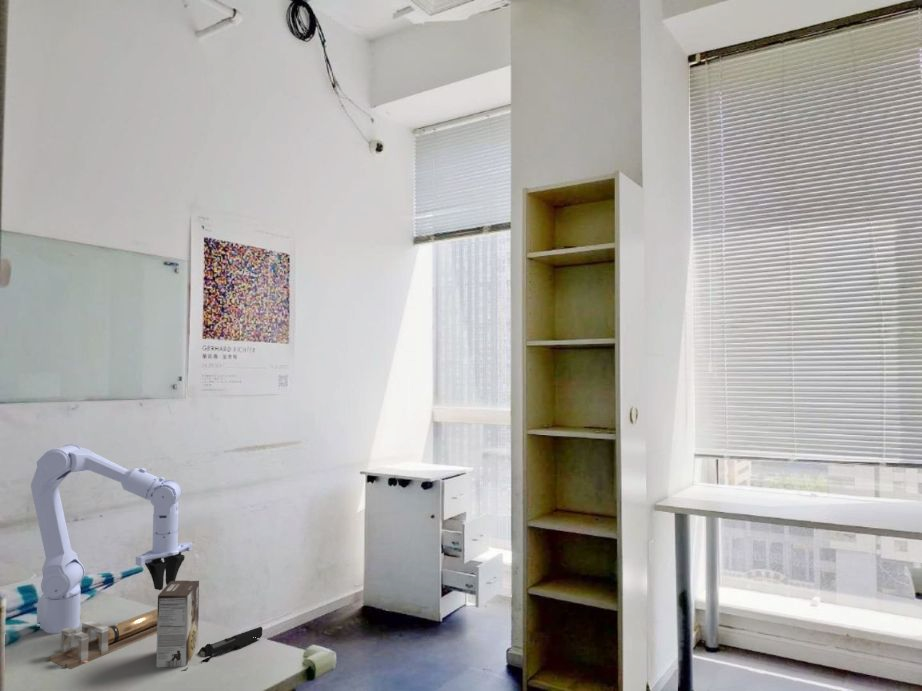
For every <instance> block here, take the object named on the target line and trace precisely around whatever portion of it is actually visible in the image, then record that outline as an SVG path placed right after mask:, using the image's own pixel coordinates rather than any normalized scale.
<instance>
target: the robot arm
mask: <svg viewBox="0 0 922 691" xmlns="http://www.w3.org/2000/svg"><path fill="white" fill-rule="evenodd" d="M84 471H85V472H86V471H90V472H92V473H95V474H97V475H101V476H103V477H106V478H108V479H111V480H114V481H117V482H118V483H120V484H121V486H122V489H123V490H124V491H126V492H128V493H131V494H133V495H135V496H137V497H140V498H142V499H145V500H147V501H150V503H151V504H152V506H153V515H152V548H151V550H148V551H146V552H144V553H142V554H139V555H136V556H135V565H136V566H139V567H141V566H145V567H146V568H147V570H148V572H149V574H150V576H151V580H152V583H153V588H154V589H155V590H158V591H162V590H163V589H164V580H165V585H166V586H167V585H168V584H169V582H170V581H176V579H177V576H178V572H179V570H180V568H181V566H182V564H183V563H184V561H185V559H186V558H185V555H184V554H182V553H184V552H191V551H193V542H192V541H191V542H190V541H185V542H180V543H179V515H180V514H179V501H178V500H179V499H180V497H181V495H182V487H181V486H180V484H179V483H178V482H176V481H175V480H173V479H166V478H165V477H163V476H160V477H159V476H156V475H154V474H152V473H149V472H147V471H148V469H146V468H144V467H141V468H137V467H135V468H132V469H128V468H125V467H124V466H121V465H119V464H118V463H115V462H113V461H111V460H109V459H108V458H106V457H104V456H102V455H99V454H98V453H95V452H93V451H92V450H90V449H88V448H86V447H81V446H79V445H78V444H73V443H70V444H65V445H63V446H61V447H58V448H52V449H49V450H47V451H46V452H44V453H43V455H42V456H41V457H40V458H39V459H38V460H37V461H36V469H35V472H34V474H33V478H32V480H31V482H30V489H31V494H32V500H33V503H34V508H35V513H36V517H37V522H38V526H39V532H40V536H41V542H42V546H43V551H44V554H45V560H44V563H43V566H42V569H41V572H42V580H41V583H40V589H41V591H42V593H43V594H42V595H41V596H39V599H38V601H37V604H36V625H37V624H40V628H39V629H41V630H43V631H44V632H45V633H47V634H61V632H62V630H63V629H66V628H71V629H74V630H76V629H77V628H79V626H80V625H81V586H80V582H82V581H83V580H84V579H85V578H84V577H85V575H86V570H85V567H84V565H83V564H82V562H81V561H80V560H79V557H78V553H77V552H75V550H73V549H72V546H71V540H70V536H69V531H68V527H67V526H68V525H67V523H66V517H65V513H64V509H63V503H62V499H61V493H60V489H59V486H60V485H61V484H62V483H63V481H64V480H65V479H66V478H67V476H68V475H69V474H71V473H77V472H84ZM165 479H166V480H165ZM162 559H163V560H162ZM164 577H165V579H164Z"/></svg>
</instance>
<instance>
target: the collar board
mask: <svg viewBox="0 0 922 691" xmlns="http://www.w3.org/2000/svg"><path fill="white" fill-rule="evenodd" d="M108 629H109V626H107V625H104V624H100V623H98V622H94V621H92V620H86V621H83V622H81V631H80V632H77V633H76V629H71V628H66V629H63V630H62V632H61V633H60V634H61V637H60V638H61V639H60V640H61V641H60V643H61V644H60V645H61V646H60V652H57V653H54V654H52V655H49V656H48V658H46V659H45V660H46V661H48V662H51V663H53V664H56V665H59V666H61V667H64V668H66V669H68V670H72V669H75V668H77V667H79V666H82V665H84V664H87V663H89V662H92V661H94V660H96V659H99V658H102V657H105V656H106V655H108V654H111V653H114V652H116V651H118V650H121V649H123V648H125V647H127V646H130V645H132V644H134V643H137V642H140V641H142V640H144V639H147V638H149V637H151V636H154V635H157V625H156V626H153V627H151V628H148V629H146V630H143V631H141V632H138V633H136V634H133V635H131V636H128V637H126V638H123V639H121V640H118V641H116V642H114V643H111V644H108ZM92 631H95V632H99V644H98V643H97V639H96V638H93V639H92ZM72 636H73V639H76V640H78V644H77V645H75V646H72Z"/></svg>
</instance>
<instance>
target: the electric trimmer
mask: <svg viewBox="0 0 922 691" xmlns="http://www.w3.org/2000/svg"><path fill="white" fill-rule="evenodd" d="M263 631H264V630H263V627H262V626H259V627H255V628H253V629H250V630H247V631H244V632H241V633H238V634H234V635H232V636H231V637H227V638H225V639H221V640H220V641H219V640H218V641H217V642H213V643H212V644H211V643H207V644H206V645H205V646H202V647H201V648H200V649H199V651H198V652H197V654H199V655H201V656H203V657H204V658H205V659H202V660H201V661H200V662H201V663H208V662H210V660H211V659H212V658H215V657H217V656H221V655H222V654H225V653H227V652H230V651H232V650H235V649H234V648H239V649H241V647H242V648H243V646H244V647H245V645H246V646H247V644H248V645H249V644H252V643H253V642H255V641H257V640H258V639H257V638H259V639H261V638H262V637H263ZM253 637H254V638H253ZM255 637H256V638H255ZM229 650H230V651H229Z"/></svg>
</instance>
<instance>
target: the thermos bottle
mask: <svg viewBox="0 0 922 691" xmlns="http://www.w3.org/2000/svg"><path fill="white" fill-rule="evenodd" d="M157 614H158V608H155V609H152V610H150V611H148V612H144V613H142V614H139V615H137V616H134V617H131V618H129V619H126V620H123V621H121V622H118V623H116V624H113V625H110V626H108V627H109V629H108V644H111V643H114V642H116V641H118V640H121V639H123V638H126V637H128V636H131V635H133V634H136V633H138V632H141V631H143V630H146V629H148V628H151V627H153V626H156V625H157ZM96 632H97V631H96ZM96 639H97V643H98V644H99V632H97V633H96Z"/></svg>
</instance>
